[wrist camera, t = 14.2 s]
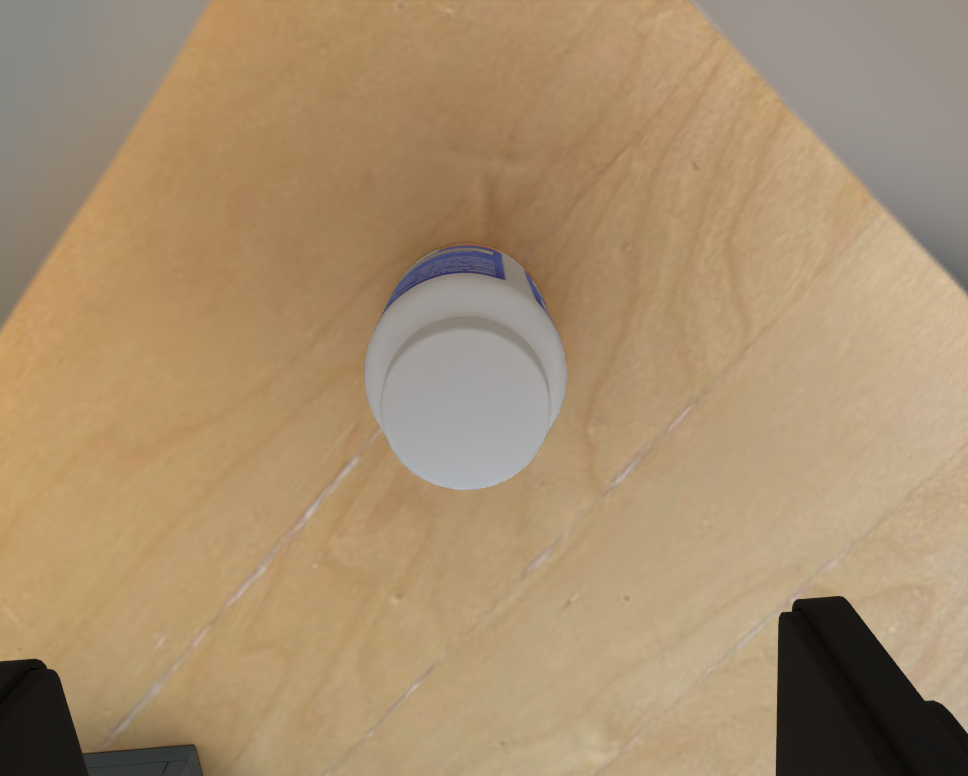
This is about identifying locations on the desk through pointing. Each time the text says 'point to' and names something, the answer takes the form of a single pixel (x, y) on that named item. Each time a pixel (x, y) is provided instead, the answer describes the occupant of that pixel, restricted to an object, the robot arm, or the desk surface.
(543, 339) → the pill bottle
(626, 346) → the desk surface
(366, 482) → the desk surface
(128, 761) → the grey open box
